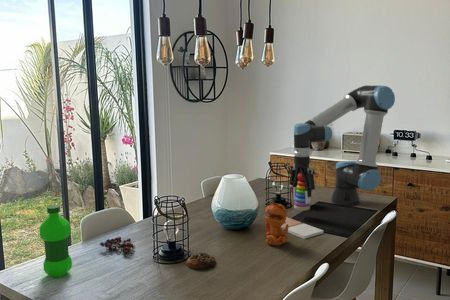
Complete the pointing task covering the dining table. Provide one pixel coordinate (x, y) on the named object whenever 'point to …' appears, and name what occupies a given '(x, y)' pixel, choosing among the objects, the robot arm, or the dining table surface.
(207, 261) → the bread roll
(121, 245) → the grape bunch
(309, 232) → the cream tile
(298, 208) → the stacking toy
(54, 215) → the plastic bottle
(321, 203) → the dining table surface
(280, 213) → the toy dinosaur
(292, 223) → the terracotta tile
